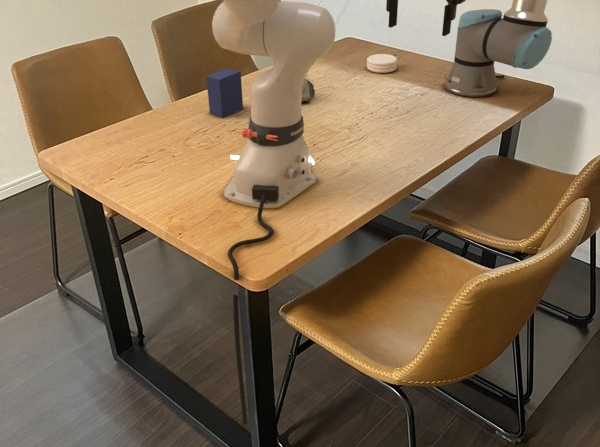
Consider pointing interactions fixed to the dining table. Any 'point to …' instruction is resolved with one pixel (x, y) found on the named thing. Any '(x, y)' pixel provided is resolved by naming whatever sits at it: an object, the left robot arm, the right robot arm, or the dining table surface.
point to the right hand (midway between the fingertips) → (418, 30)
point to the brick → (224, 92)
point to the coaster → (381, 63)
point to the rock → (307, 90)
